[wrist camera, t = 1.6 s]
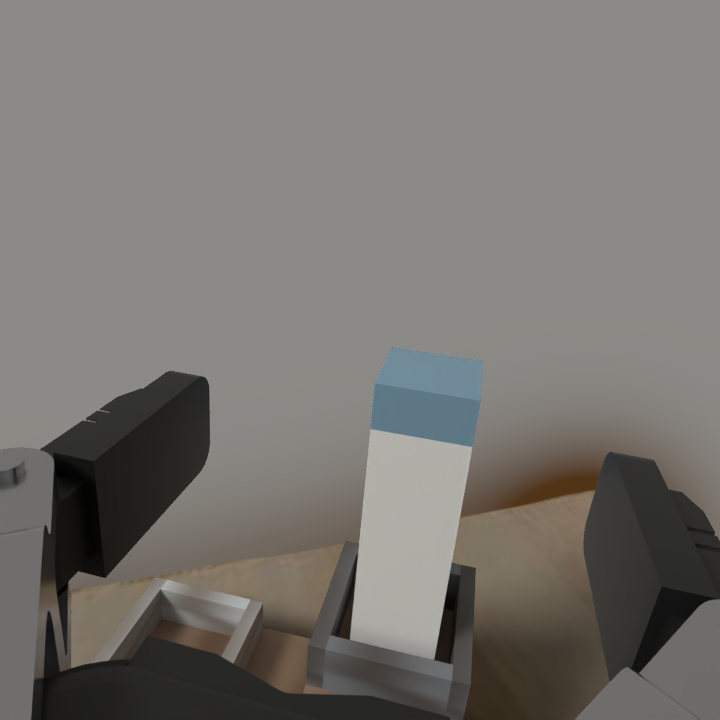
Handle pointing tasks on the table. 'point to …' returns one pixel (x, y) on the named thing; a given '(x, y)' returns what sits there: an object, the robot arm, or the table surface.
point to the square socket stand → (311, 641)
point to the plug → (413, 497)
